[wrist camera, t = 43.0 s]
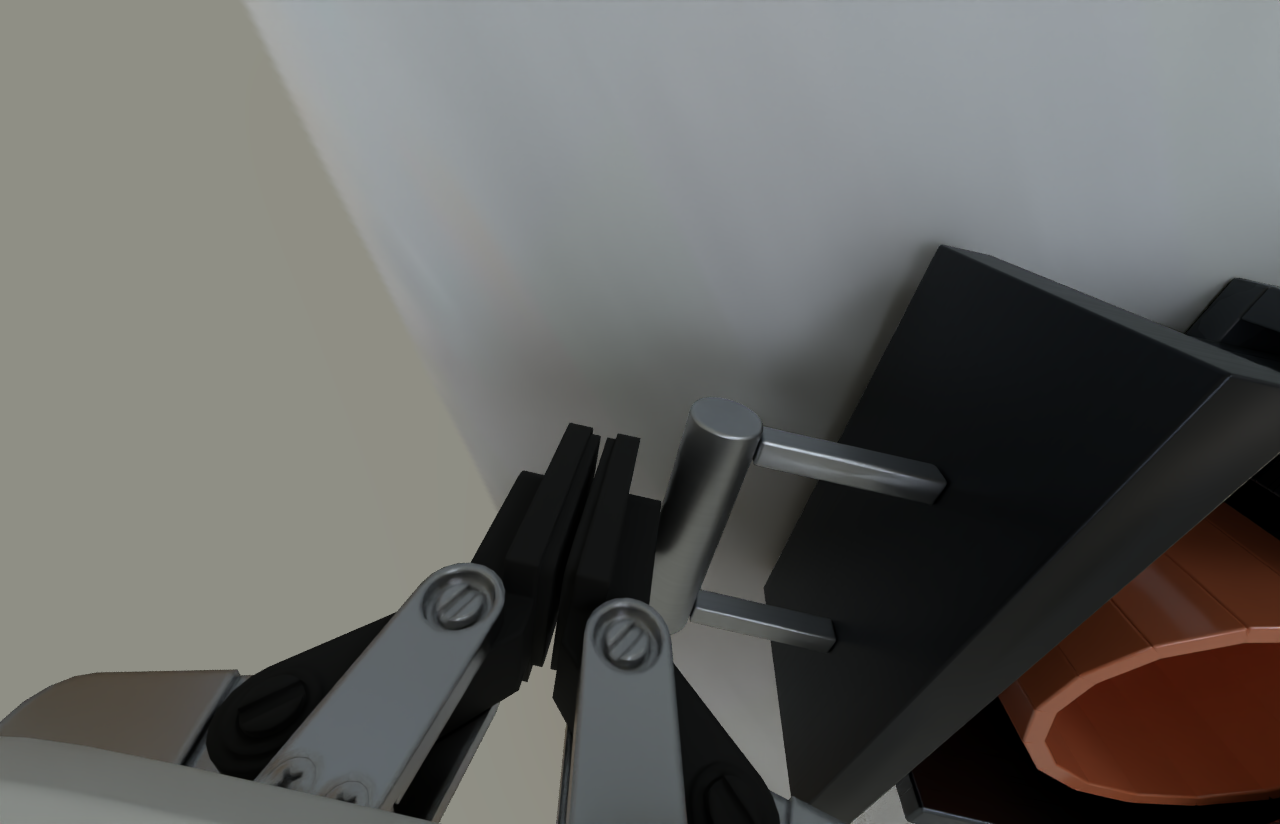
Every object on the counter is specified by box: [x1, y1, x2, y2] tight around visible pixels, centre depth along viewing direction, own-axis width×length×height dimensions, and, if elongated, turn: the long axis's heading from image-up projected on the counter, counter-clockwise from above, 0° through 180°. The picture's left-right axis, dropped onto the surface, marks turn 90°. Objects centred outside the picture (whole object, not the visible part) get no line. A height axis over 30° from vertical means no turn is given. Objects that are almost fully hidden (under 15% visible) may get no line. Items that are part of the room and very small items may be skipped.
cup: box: [998, 502, 1280, 806], centre depth 11 cm, size 6×6×5 cm
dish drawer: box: [649, 245, 1280, 824], centre depth 11 cm, size 19×12×7 cm, turn 79°
